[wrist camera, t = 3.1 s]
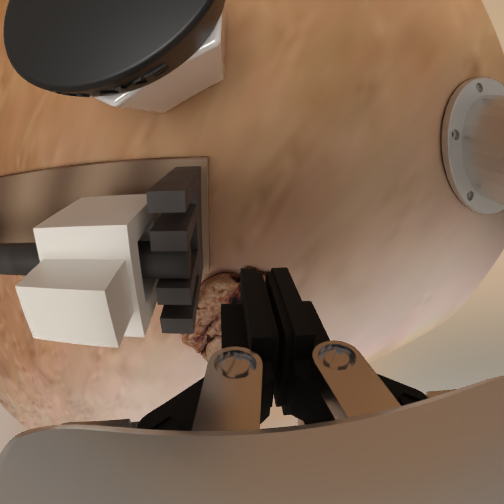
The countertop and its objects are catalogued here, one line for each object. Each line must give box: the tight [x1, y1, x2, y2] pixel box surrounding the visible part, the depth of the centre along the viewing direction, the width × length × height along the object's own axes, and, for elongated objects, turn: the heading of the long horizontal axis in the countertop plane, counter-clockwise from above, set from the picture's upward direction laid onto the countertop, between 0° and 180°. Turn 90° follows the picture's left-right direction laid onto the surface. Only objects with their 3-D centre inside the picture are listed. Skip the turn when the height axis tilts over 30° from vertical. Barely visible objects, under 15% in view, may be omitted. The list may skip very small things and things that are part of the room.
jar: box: [4, 0, 226, 113], centre depth 11 cm, size 9×8×12 cm
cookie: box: [181, 267, 266, 362], centre depth 24 cm, size 10×11×3 cm
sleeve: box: [15, 194, 159, 348], centre depth 13 cm, size 4×5×8 cm
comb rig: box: [0, 156, 210, 334], centre depth 16 cm, size 21×8×9 cm, turn 88°
